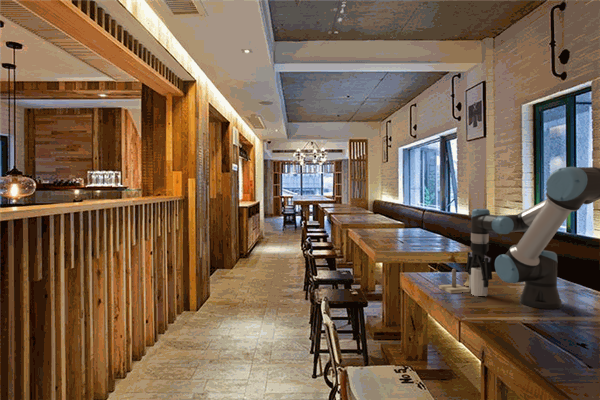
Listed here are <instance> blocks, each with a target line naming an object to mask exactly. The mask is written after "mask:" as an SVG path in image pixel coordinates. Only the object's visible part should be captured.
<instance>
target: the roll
mask: <svg viewBox="0 0 600 400" xmlns="http://www.w3.org/2000/svg"><path fill="white" fill-rule="evenodd" d="M482 279H483V276H482V272H481V268H480V267H475V268H471V289H470V294H472V295H471V296H473V295H474V297H478V296H485V297H487V296H488V293H487V294H481V284H482Z"/></svg>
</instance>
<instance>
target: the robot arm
mask: <svg viewBox="0 0 600 400" xmlns="http://www.w3.org/2000/svg"><path fill="white" fill-rule="evenodd" d="M545 185H546V187H545V190H546V193H545V197H546V199H545V200H543V201H540V202H539V203H537V204H535V205H532V206H531V207H529V208H527V209H525V210H523V211H522V212H520V213H517V214H505V215H497V214H496V215H495V214H491V212H490V209H488V208H474V209H472V210H471V217H470V220H471V221H470V222H471V223H470V224H471V225H470V226H471V227H470V228H471V229H470V241H471V242H470V250H471V251H467V260H466V266H465V272H466V273H467V274H468V275H469V287H468V288H469V289H470V290H471V268H475V267H477V266H479V268H481V272H482V276H483V279H482V284H481V294H487V295H488V293H489V292H488V290H489V280H490V281H492V280H493V272H492V270H493V269H492V259H493V258H492V257H491V256H490V257H489V256H488V255H487V252H488V251H489V242H490V241H489V239H490V238H489V236H490V232H491V233H495V234H499V235H508V234H510V233H515V232H516V233H517V232H524V234H523V235H522V237H521V239H519V241H518V243H516V244H513V245H511V246H510V247H509V248H508V251H507V252H506V253H505V254H504V253H503V254H499V255H498V256H496V258H495V260H494V269H495V273H496V275H497V276H498V277H499V279H500V280H501V281H503V283H507V284H517V283H524V287H523V289H522V294H520V299H519V301H520V303H521V304H523V305H524V306H527V307H531V308H537V309H545V310H546V309H547V310H555V309H560V308H562V305H563V304H562V303H563V301H562V299H561V297H560V294H559V290H558V264H559V263H558V254H557V253H556V252H555V251H551V250H546V249H545V248H547V246H548V245H549V243H550V241H551V240H552V239H553V237H554V236H555V234H557V232H558V231H559V229H560V228H561V226H562V225H563V224H564V222H565V221H566V220H567V219H568V217H569V216H570V214H571V213H572V212H577V211H579V210H580V208H581V207H582V206H583V205H590V204H592V203H594V202H596V201H599V200H600V167H595V166H589V167H581V166H579V167H578V166H565V167H561V168H558V169H556V170H554V171H553V172H552V173H551V174H550V175H549V176H548V178H547V179H546V182H545Z"/></svg>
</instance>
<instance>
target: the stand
mask: <svg viewBox="0 0 600 400" xmlns="http://www.w3.org/2000/svg"><path fill="white" fill-rule="evenodd" d="M438 289H440V290H442V291H444V292H446V293H449V294H460V293H462V292H463V293H471V289H469V287H466V286H464V285H461V284H458V283H457V269H456V268H452V270H451V284H438Z"/></svg>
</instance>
